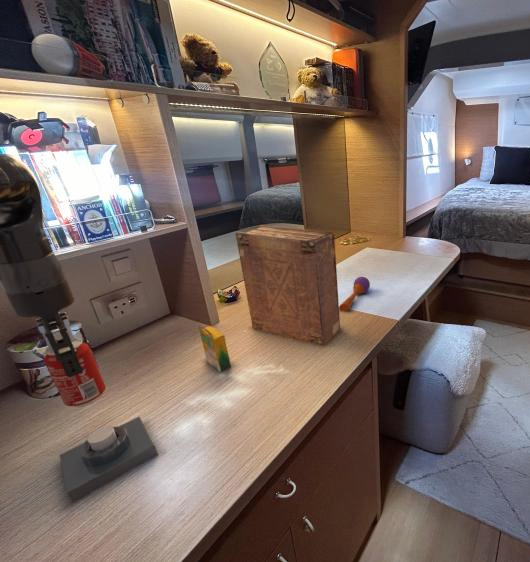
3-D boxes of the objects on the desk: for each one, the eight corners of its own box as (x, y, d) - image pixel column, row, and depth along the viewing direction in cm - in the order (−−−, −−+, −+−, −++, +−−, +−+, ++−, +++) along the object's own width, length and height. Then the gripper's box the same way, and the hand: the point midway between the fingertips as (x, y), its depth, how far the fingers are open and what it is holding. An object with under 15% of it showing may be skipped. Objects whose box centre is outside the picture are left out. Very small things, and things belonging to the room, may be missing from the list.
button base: (74, 505, 53) (62, 483, 51) (65, 467, 60) (54, 446, 58) (159, 457, 61) (151, 436, 59) (143, 427, 68) (136, 408, 66)
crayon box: (232, 368, 85) (223, 328, 80) (220, 374, 83) (210, 333, 78) (218, 357, 89) (208, 318, 85) (206, 363, 87) (196, 323, 82)
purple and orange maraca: (333, 300, 110) (355, 274, 127) (338, 316, 112) (359, 288, 129) (349, 300, 108) (369, 273, 125) (354, 315, 110) (373, 287, 127)
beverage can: (104, 383, 69) (83, 332, 65) (110, 398, 65) (88, 345, 61) (64, 398, 65) (39, 346, 61) (67, 416, 61) (41, 360, 57)
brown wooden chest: (252, 329, 102) (234, 232, 90) (272, 316, 110) (258, 224, 98) (324, 347, 92) (314, 241, 81) (340, 331, 100) (334, 232, 88)
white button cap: (93, 455, 56) (89, 446, 55) (89, 443, 59) (85, 434, 58) (119, 442, 59) (115, 433, 58) (114, 431, 61) (111, 422, 60)
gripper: (3, 278, 58) (42, 359, 65) (4, 303, 49) (49, 395, 55) (60, 266, 63) (91, 343, 69) (71, 287, 54) (105, 373, 60)
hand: (72, 365), depth 62 cm, fingers closed on beverage can, 6 cm apart
